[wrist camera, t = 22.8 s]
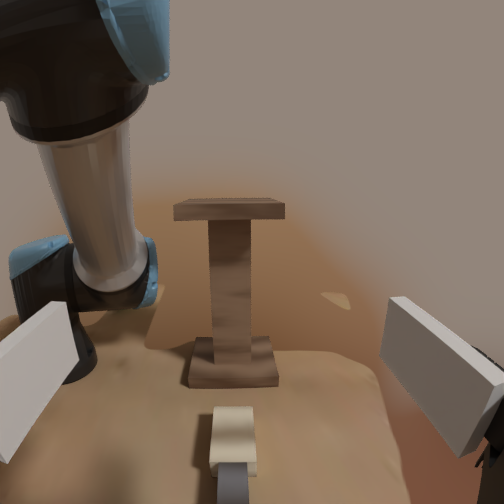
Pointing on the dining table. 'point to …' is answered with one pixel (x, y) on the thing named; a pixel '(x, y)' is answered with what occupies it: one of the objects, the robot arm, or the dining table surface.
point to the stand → (231, 295)
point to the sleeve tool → (233, 453)
